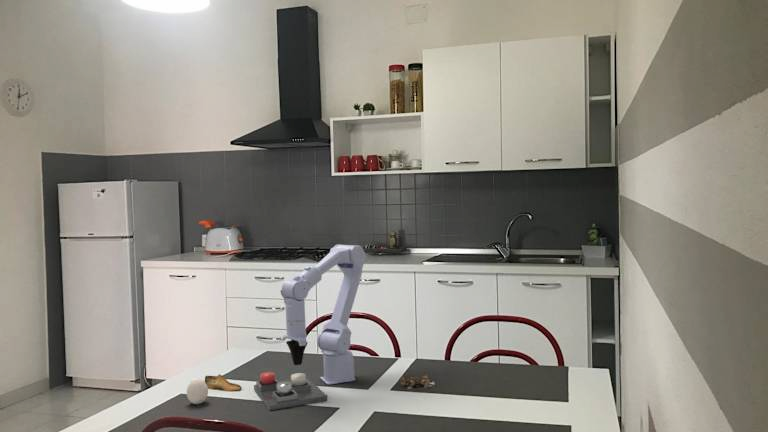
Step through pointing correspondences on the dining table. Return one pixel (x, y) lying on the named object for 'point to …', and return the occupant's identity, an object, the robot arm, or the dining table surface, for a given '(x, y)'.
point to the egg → (197, 391)
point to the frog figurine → (415, 381)
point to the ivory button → (298, 379)
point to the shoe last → (220, 383)
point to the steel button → (284, 388)
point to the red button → (267, 378)
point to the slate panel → (296, 398)
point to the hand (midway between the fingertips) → (297, 364)
